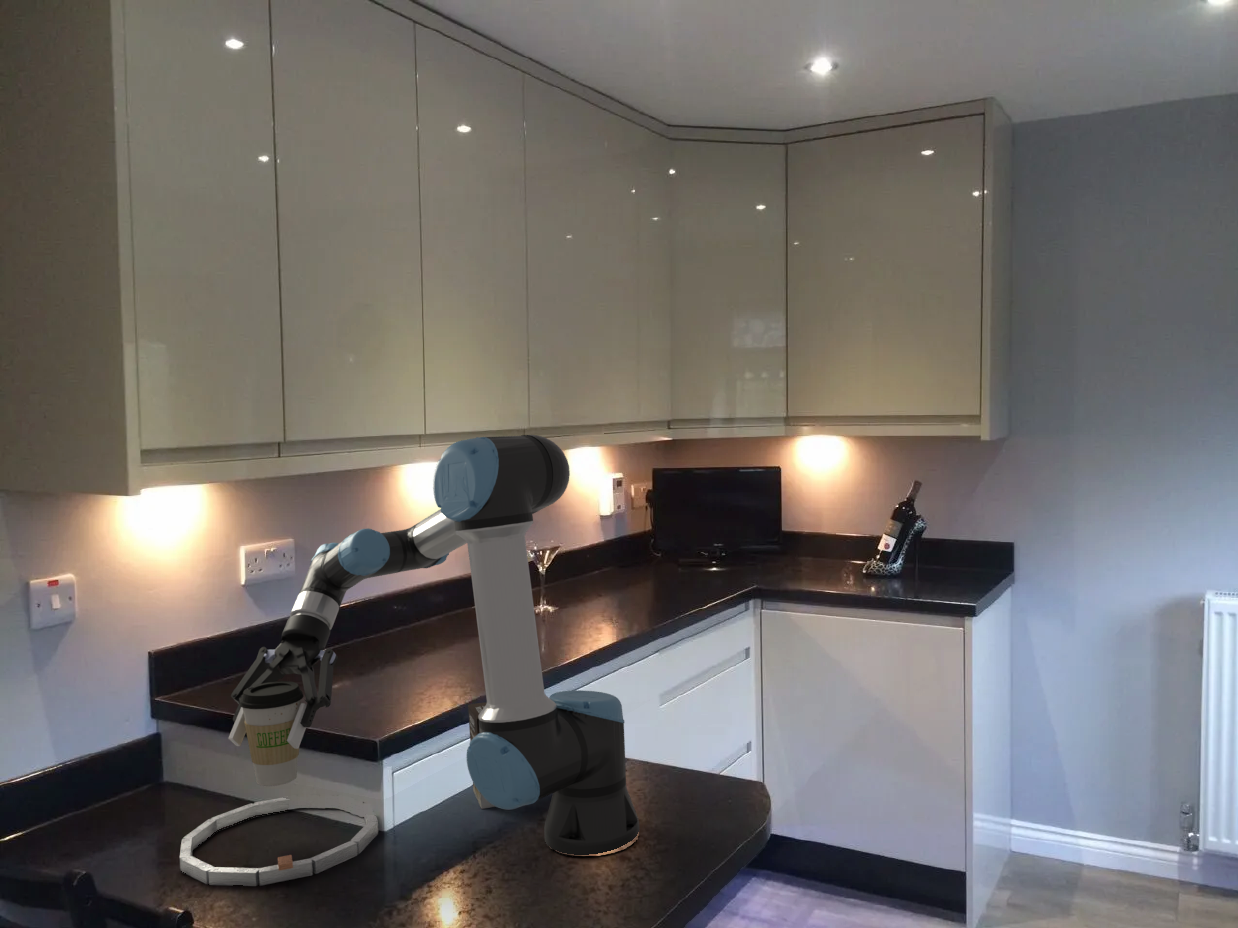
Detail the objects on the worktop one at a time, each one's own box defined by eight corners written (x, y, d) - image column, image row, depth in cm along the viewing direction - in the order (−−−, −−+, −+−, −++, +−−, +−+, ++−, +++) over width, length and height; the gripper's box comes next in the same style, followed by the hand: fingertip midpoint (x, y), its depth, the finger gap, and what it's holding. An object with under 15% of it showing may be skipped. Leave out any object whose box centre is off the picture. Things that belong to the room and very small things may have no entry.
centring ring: (389, 861, 154) (388, 843, 154) (176, 904, 143) (175, 885, 143) (364, 794, 182) (363, 778, 182) (185, 825, 172) (184, 809, 171)
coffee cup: (288, 791, 157) (282, 697, 156) (232, 789, 159) (225, 696, 158) (319, 768, 167) (314, 680, 166) (266, 767, 169) (260, 679, 168)
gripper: (377, 636, 174) (336, 756, 159) (262, 634, 179) (213, 751, 165) (360, 612, 168) (316, 734, 154) (243, 611, 174) (190, 730, 159)
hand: (263, 743), depth 159 cm, fingers closed on coffee cup, 10 cm apart
